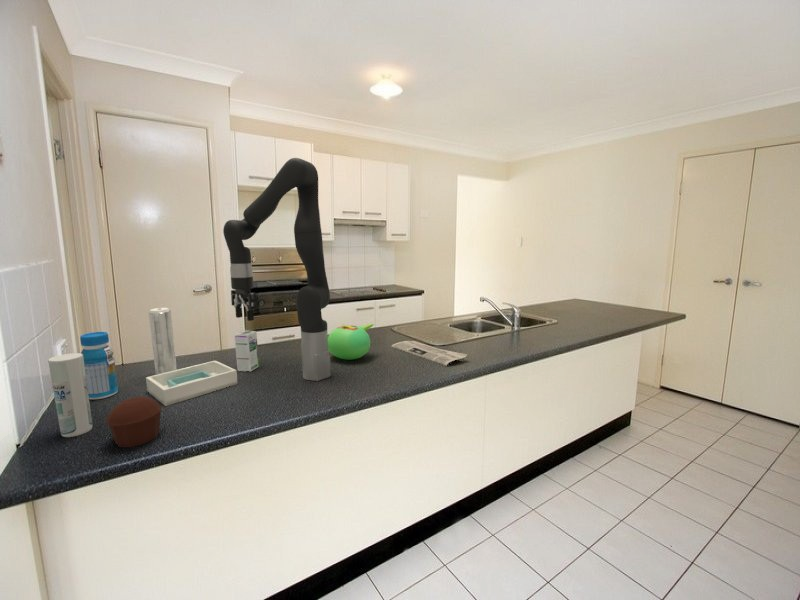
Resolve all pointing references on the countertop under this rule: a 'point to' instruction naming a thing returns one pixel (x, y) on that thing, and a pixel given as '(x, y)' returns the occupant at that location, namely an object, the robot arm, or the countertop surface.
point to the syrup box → (246, 350)
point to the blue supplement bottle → (99, 365)
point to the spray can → (71, 394)
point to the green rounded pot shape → (349, 341)
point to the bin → (190, 382)
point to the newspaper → (429, 352)
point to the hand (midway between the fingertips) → (244, 318)
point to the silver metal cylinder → (162, 340)
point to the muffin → (134, 421)
